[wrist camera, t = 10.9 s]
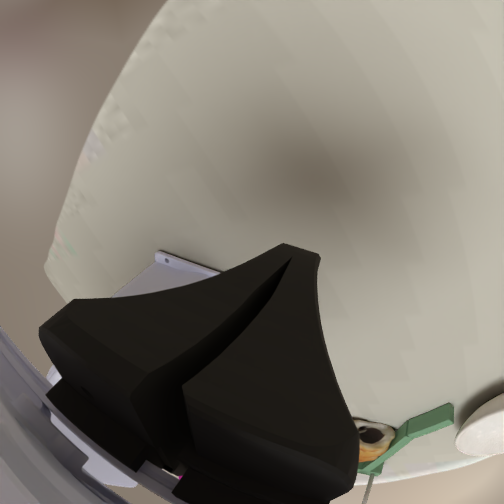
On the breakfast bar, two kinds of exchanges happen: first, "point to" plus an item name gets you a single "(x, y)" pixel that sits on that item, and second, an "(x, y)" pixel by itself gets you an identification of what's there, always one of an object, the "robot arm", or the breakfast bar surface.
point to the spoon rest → (483, 430)
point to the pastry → (373, 439)
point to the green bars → (407, 439)
